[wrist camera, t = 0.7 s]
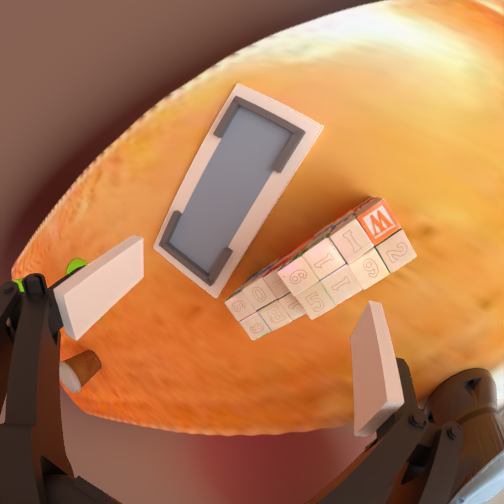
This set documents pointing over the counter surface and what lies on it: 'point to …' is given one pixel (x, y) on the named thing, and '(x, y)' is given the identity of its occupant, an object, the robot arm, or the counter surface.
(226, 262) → the blueprint board
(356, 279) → the stack of blocks
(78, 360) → the disposable coffee cup
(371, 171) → the counter surface
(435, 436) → the robot arm
